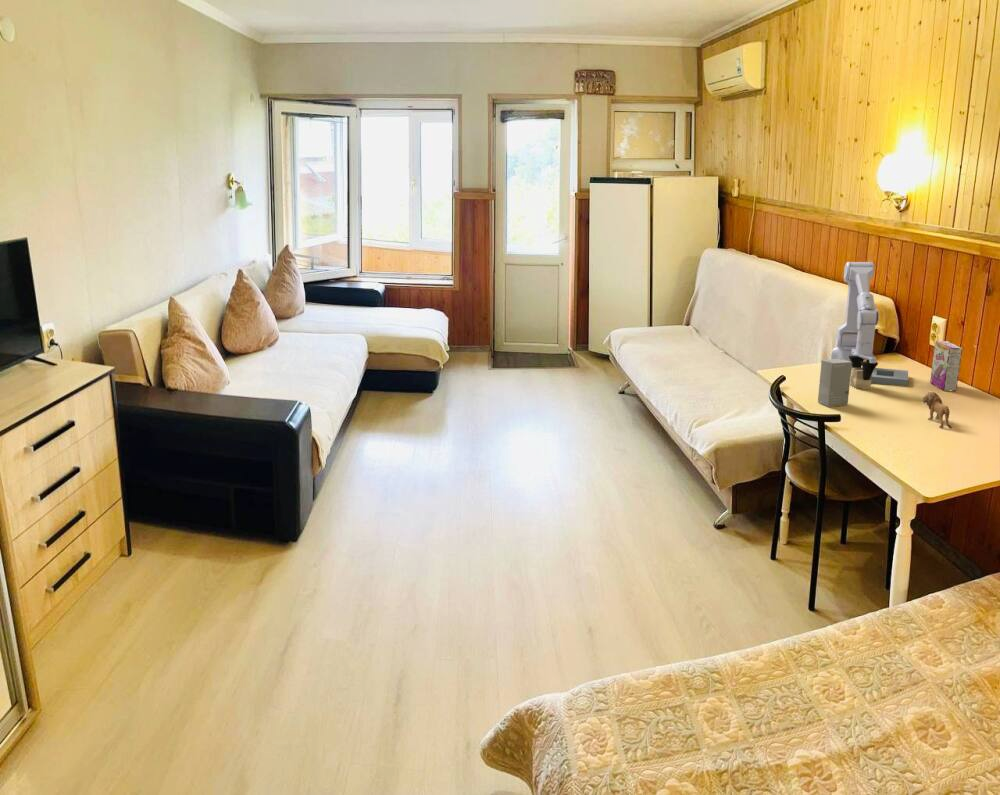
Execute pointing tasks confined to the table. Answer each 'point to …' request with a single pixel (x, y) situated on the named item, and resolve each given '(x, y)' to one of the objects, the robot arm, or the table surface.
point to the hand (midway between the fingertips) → (861, 377)
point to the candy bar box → (946, 365)
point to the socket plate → (890, 376)
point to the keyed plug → (859, 379)
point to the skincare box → (834, 382)
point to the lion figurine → (937, 408)
